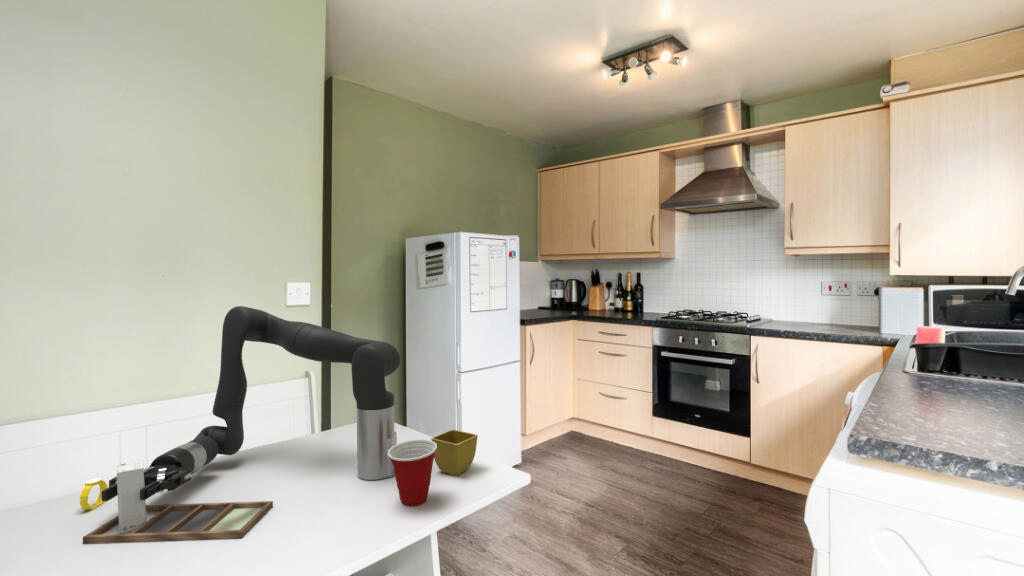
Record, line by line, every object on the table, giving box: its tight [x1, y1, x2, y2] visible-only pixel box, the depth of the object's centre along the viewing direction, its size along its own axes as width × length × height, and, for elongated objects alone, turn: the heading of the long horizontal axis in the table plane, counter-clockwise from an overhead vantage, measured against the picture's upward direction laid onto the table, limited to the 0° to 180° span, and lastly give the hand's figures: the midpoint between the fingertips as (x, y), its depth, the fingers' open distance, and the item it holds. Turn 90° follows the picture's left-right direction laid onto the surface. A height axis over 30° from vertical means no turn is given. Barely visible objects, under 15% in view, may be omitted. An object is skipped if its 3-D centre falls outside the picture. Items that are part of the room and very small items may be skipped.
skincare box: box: [116, 460, 148, 534], centre depth 94 cm, size 6×4×12 cm
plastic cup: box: [388, 438, 437, 507], centre depth 103 cm, size 11×11×12 cm
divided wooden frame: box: [82, 500, 274, 545], centre depth 94 cm, size 29×13×1 cm, turn 92°
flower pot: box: [430, 429, 478, 476], centre depth 119 cm, size 9×9×9 cm
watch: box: [79, 477, 108, 511], centre depth 102 cm, size 6×3×6 cm, turn 7°
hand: (122, 495), depth 91 cm, fingers closed on skincare box, 6 cm apart
